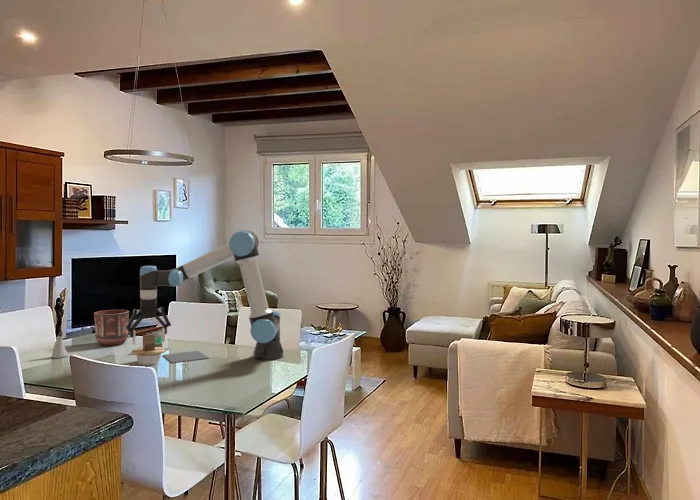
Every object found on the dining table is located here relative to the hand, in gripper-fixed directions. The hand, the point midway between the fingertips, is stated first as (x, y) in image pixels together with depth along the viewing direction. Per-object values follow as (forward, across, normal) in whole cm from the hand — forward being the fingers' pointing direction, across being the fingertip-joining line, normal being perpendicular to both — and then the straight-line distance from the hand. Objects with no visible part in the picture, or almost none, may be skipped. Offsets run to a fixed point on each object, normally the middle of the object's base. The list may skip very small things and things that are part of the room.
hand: (148, 342), depth 259 cm
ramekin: (+10, 0, 0) cm, 10 cm away
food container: (+10, -10, -26) cm, 30 cm away
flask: (+10, +35, -35) cm, 50 cm away
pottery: (+10, +8, -54) cm, 55 cm away
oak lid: (+5, 0, 0) cm, 5 cm away
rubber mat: (+10, -18, -2) cm, 21 cm away
